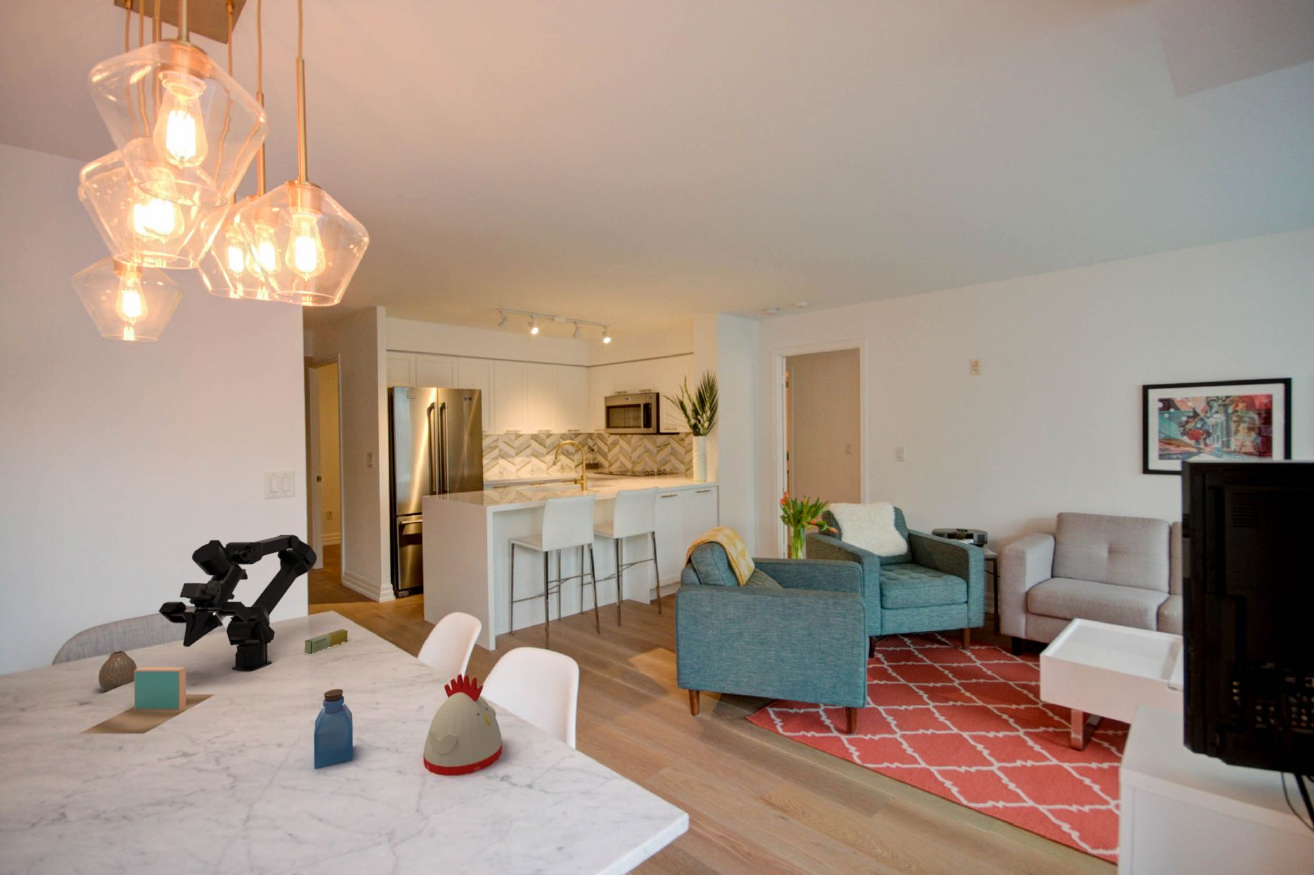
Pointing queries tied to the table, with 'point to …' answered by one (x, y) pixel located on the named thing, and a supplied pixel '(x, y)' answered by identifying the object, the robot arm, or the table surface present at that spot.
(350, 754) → the perfume bottle
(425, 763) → the kitchen timer
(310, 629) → the table surface
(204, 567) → the robot arm
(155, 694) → the tile
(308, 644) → the medication box
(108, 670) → the vase
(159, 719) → the board
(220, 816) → the table surface
